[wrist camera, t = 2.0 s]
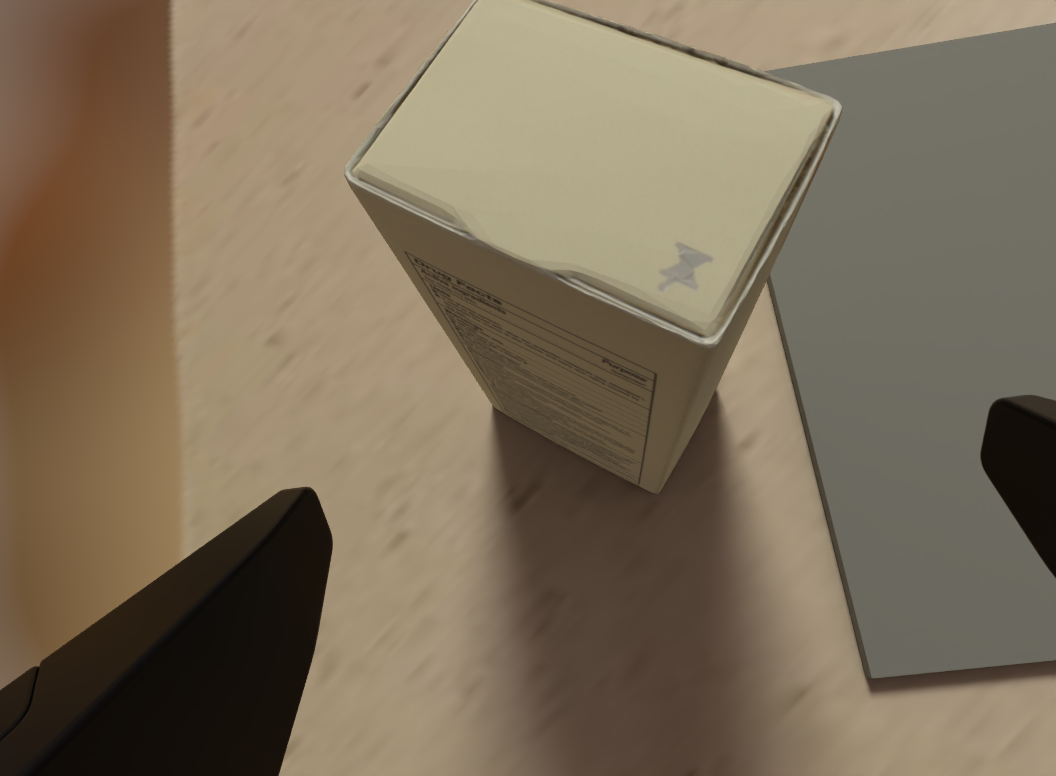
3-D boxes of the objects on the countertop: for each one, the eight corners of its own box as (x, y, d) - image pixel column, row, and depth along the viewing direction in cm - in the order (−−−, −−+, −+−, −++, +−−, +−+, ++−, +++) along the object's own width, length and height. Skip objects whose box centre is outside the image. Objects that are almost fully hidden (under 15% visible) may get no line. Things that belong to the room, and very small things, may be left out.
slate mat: (1428, 620, 16) (1448, 621, 16) (865, 676, 17) (872, 678, 17) (1120, 20, 23) (1128, 10, 22) (718, 86, 24) (720, 78, 23)
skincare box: (721, 381, 20) (880, 101, 9) (657, 501, 19) (740, 366, 8) (545, 294, 22) (483, -40, 10) (479, 402, 21) (327, 168, 9)
